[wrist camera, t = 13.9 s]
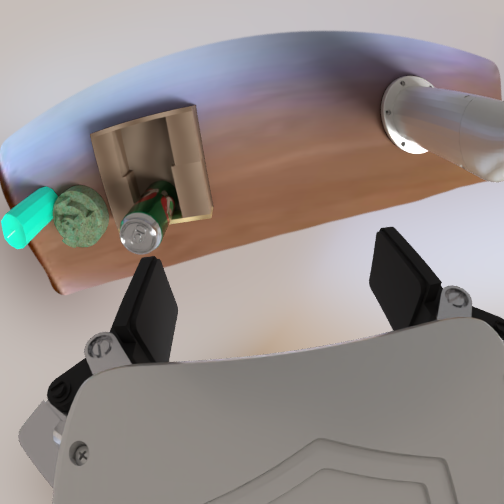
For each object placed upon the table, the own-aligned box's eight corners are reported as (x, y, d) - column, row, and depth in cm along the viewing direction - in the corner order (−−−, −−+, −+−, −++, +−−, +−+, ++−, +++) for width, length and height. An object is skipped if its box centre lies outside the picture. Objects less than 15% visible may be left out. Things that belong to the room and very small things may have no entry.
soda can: (141, 203, 38) (111, 246, 28) (153, 173, 36) (123, 208, 25) (172, 217, 39) (151, 264, 29) (185, 188, 37) (166, 228, 27)
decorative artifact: (91, 174, 36) (51, 199, 37) (69, 191, 30) (29, 217, 31) (119, 228, 41) (78, 246, 42) (103, 251, 35) (61, 269, 36)
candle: (58, 187, 36) (16, 221, 26) (61, 219, 39) (24, 258, 29) (34, 185, 35) (-9, 216, 25) (37, 215, 38) (0, 251, 28)
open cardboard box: (195, 105, 32) (191, 106, 28) (213, 206, 40) (211, 217, 37) (102, 129, 32) (89, 134, 29) (127, 220, 40) (119, 232, 37)
